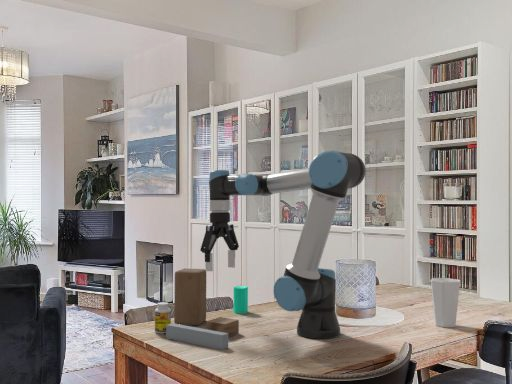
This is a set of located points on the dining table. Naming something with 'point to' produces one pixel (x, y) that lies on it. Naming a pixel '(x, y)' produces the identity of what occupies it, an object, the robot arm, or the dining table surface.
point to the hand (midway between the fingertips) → (220, 269)
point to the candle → (240, 299)
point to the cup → (445, 300)
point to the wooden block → (190, 296)
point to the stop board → (197, 336)
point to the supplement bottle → (162, 317)
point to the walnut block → (224, 325)
